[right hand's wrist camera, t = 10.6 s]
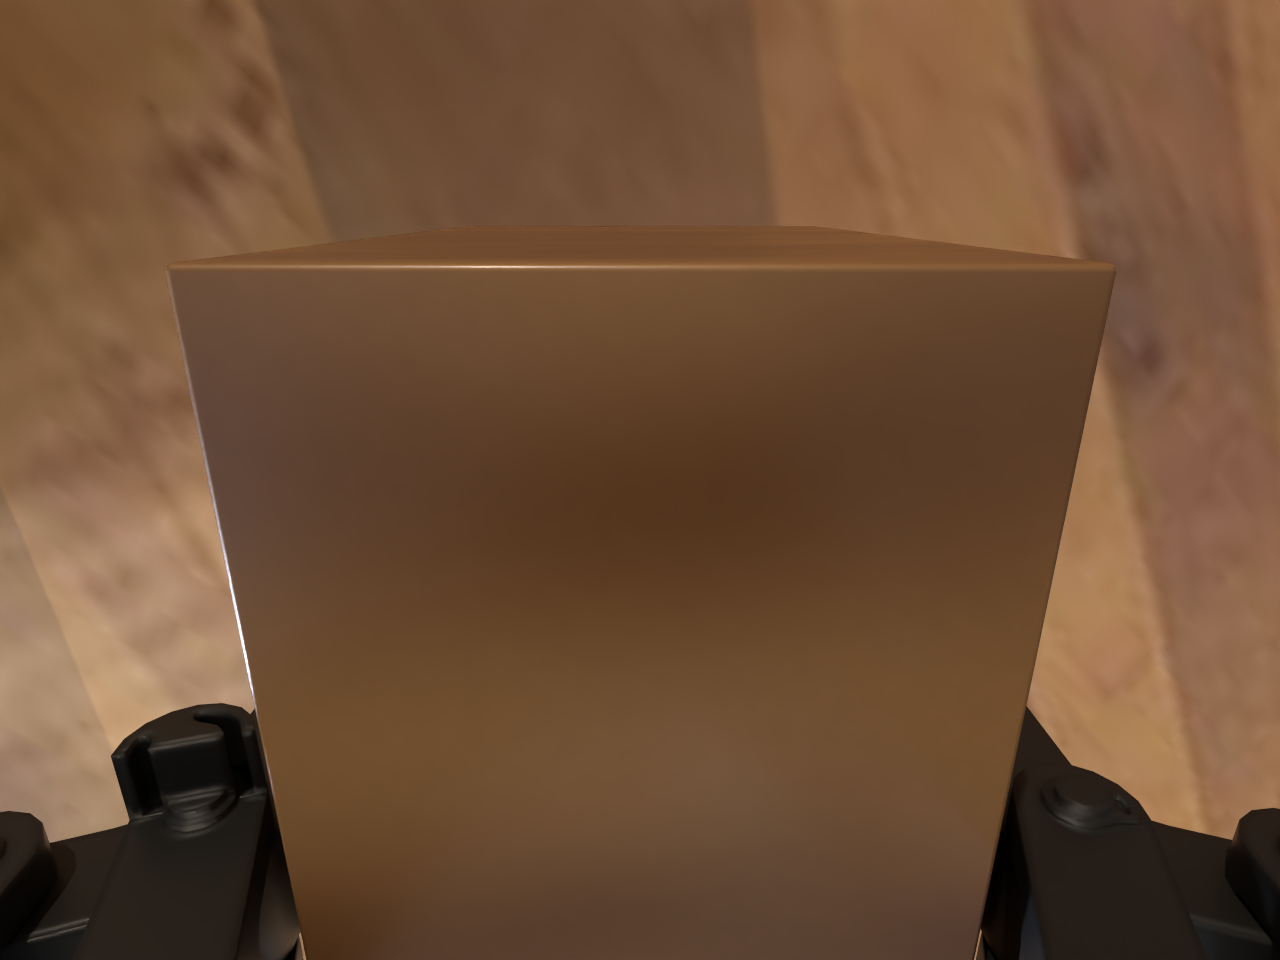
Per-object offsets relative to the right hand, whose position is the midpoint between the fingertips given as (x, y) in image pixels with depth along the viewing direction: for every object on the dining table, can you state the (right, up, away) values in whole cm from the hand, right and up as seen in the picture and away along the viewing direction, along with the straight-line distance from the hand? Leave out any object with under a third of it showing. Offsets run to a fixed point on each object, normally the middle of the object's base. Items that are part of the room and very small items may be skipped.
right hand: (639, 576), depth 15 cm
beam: (0, -32, +12) cm, 34 cm away
